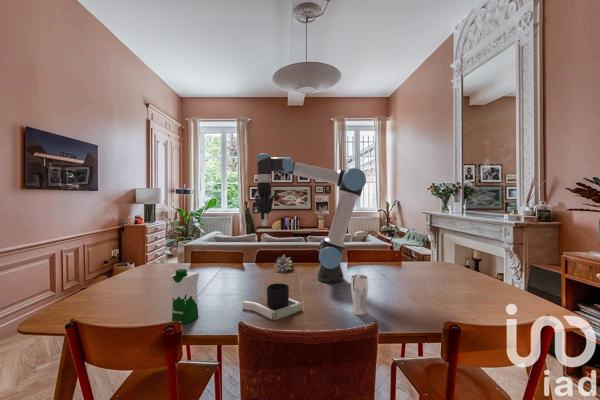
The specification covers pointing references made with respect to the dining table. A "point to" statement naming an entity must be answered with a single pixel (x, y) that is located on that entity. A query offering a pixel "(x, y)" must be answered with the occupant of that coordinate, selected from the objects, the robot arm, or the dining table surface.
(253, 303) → the bay
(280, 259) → the grey spiky ball
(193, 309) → the milk carton
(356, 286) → the beer glass
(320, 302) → the dining table surface
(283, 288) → the pen holder
